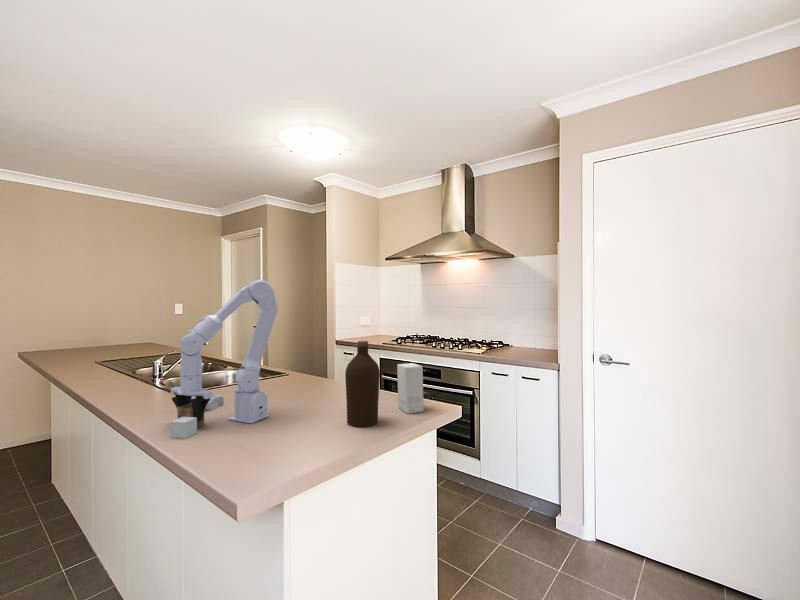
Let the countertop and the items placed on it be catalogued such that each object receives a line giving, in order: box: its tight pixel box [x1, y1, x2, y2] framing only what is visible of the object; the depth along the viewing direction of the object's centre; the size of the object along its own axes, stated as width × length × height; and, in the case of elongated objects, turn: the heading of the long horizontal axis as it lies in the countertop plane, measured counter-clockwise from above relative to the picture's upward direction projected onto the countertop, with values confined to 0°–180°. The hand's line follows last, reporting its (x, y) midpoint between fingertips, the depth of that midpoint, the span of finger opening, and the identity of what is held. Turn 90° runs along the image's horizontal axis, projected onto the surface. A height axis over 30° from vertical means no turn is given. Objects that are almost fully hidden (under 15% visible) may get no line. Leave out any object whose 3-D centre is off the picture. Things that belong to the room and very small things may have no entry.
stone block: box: [191, 393, 225, 412], centre depth 134 cm, size 12×5×10 cm
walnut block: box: [176, 403, 205, 428], centre depth 115 cm, size 5×5×6 cm
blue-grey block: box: [170, 417, 198, 440], centre depth 107 cm, size 4×4×4 cm
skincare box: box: [396, 362, 424, 415], centre depth 132 cm, size 8×7×16 cm
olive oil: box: [344, 340, 381, 428], centre depth 119 cm, size 11×11×25 cm
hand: (191, 420), depth 115 cm, fingers closed on walnut block, 5 cm apart
